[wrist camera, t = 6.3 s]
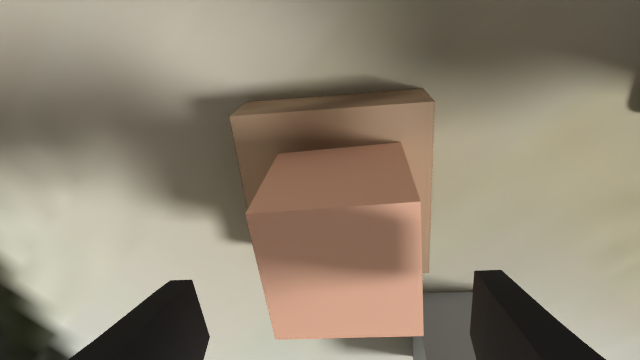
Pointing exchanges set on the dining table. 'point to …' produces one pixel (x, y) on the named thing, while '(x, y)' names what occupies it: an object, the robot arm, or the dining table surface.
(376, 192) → the terracotta cube
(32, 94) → the dining table surface
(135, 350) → the robot arm
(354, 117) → the walnut block
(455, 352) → the slate-grey cube
